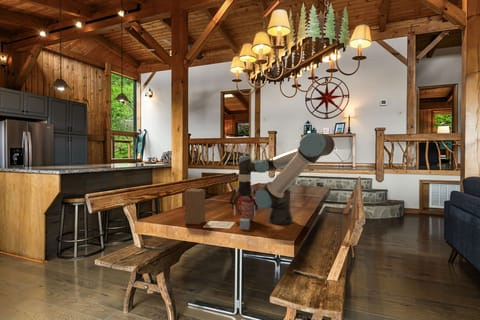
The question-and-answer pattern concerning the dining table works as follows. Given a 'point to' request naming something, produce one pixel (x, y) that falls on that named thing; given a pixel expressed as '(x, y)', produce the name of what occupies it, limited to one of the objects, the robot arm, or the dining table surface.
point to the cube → (244, 224)
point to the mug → (246, 207)
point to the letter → (219, 224)
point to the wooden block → (194, 206)
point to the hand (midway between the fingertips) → (244, 215)
